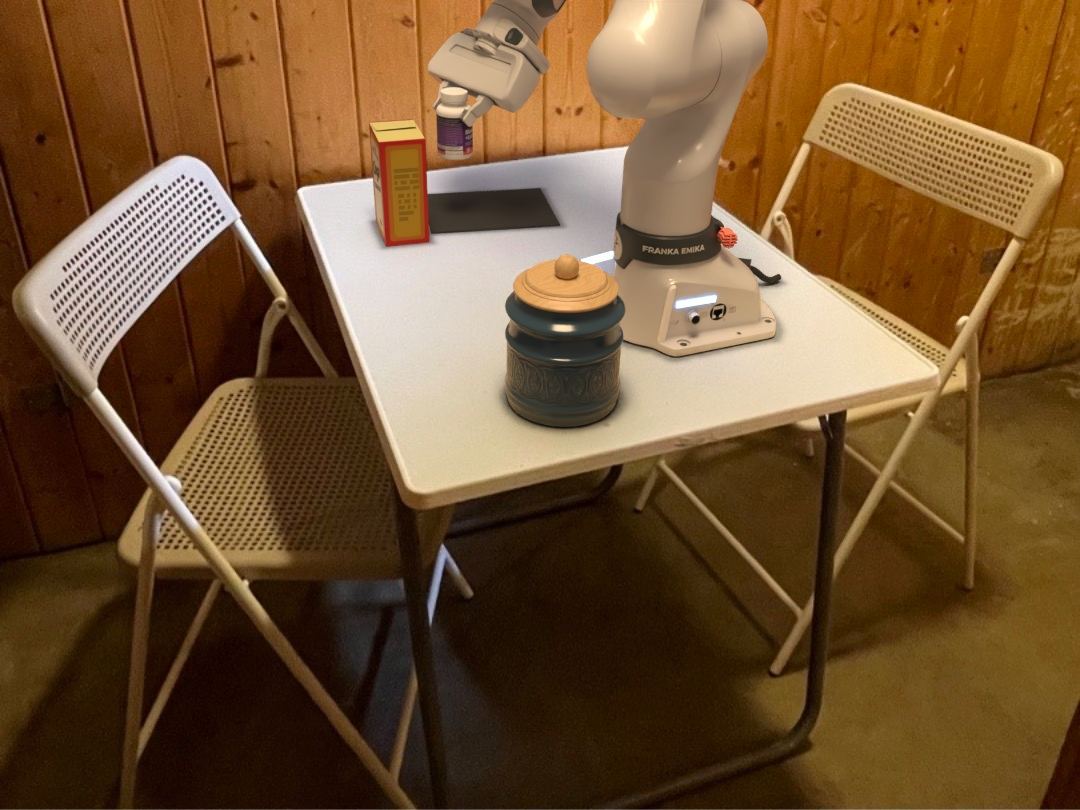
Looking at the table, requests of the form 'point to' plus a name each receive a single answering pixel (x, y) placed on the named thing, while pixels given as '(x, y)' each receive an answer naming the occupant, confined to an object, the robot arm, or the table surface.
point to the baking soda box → (400, 181)
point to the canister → (564, 343)
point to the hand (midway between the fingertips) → (450, 117)
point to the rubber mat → (489, 210)
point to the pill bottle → (453, 125)
